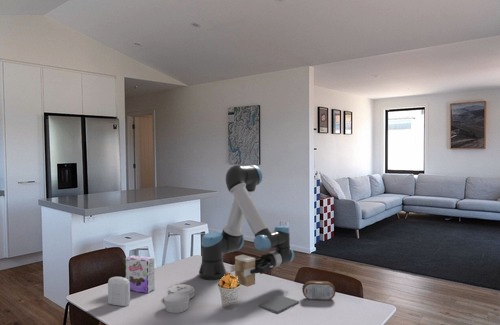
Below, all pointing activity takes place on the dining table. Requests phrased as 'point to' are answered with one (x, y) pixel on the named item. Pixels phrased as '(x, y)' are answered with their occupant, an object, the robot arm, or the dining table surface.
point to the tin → (318, 290)
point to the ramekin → (176, 302)
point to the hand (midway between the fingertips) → (237, 271)
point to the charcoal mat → (278, 304)
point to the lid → (182, 289)
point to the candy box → (140, 273)
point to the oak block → (242, 264)
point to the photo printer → (119, 291)
